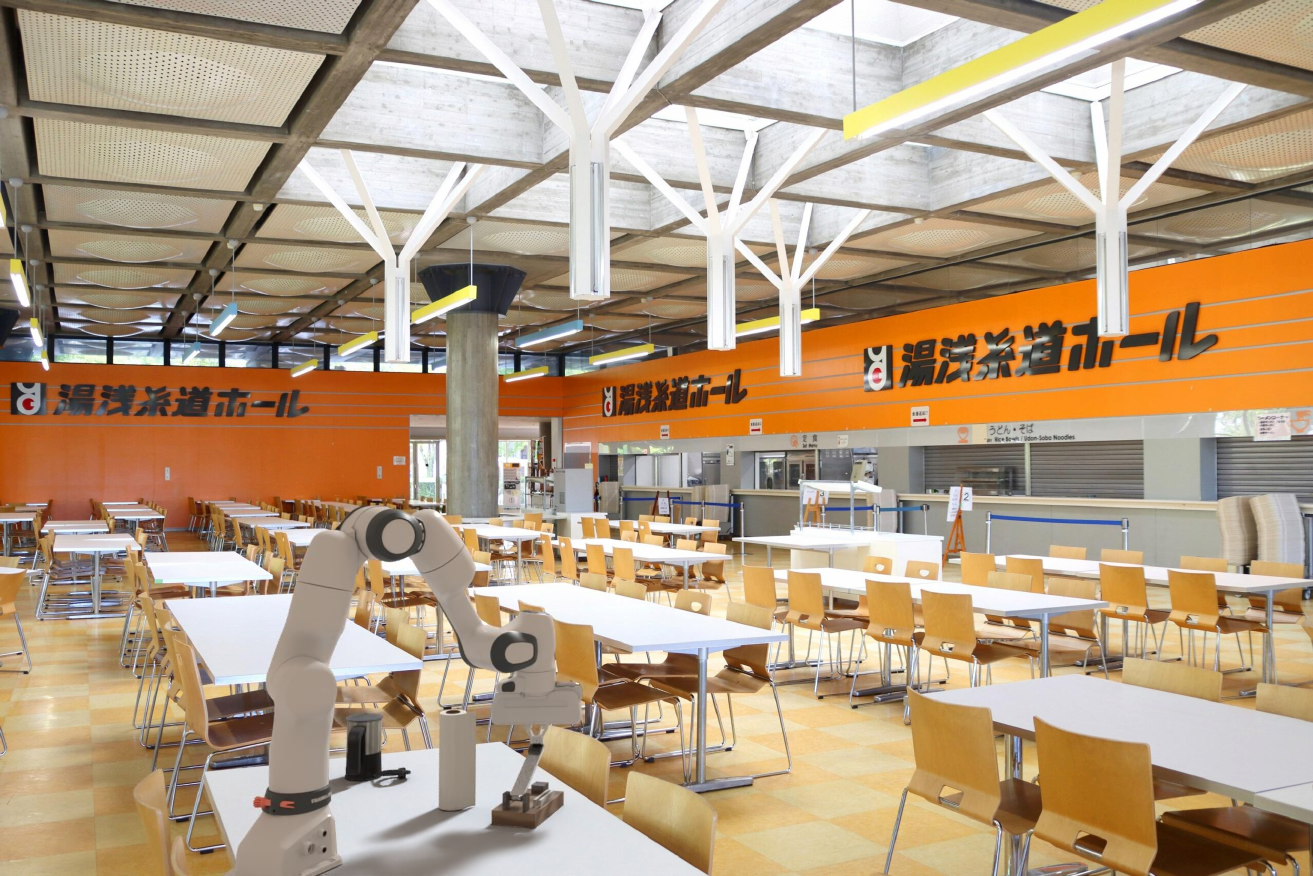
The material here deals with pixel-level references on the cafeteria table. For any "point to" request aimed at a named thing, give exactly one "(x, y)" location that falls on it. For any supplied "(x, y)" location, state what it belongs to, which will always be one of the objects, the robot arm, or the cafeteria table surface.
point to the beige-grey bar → (527, 772)
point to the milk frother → (366, 749)
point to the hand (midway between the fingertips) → (537, 744)
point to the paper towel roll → (457, 759)
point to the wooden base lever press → (528, 807)
